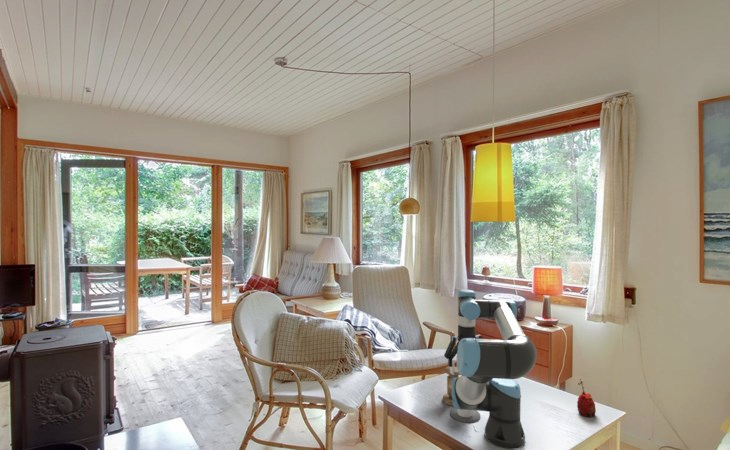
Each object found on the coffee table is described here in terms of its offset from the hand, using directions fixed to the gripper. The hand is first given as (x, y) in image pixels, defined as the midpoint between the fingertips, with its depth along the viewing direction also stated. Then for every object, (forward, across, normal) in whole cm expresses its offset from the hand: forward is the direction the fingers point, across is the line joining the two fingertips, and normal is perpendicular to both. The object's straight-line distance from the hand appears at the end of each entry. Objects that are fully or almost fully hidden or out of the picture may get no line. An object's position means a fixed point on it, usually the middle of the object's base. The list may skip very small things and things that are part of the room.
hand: (466, 372), depth 168 cm
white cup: (+19, 0, 0) cm, 19 cm away
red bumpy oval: (+19, +53, -9) cm, 57 cm away
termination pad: (+19, 0, 0) cm, 19 cm away
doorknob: (+19, 0, +13) cm, 23 cm away
